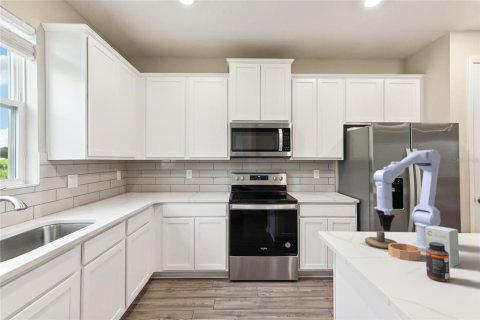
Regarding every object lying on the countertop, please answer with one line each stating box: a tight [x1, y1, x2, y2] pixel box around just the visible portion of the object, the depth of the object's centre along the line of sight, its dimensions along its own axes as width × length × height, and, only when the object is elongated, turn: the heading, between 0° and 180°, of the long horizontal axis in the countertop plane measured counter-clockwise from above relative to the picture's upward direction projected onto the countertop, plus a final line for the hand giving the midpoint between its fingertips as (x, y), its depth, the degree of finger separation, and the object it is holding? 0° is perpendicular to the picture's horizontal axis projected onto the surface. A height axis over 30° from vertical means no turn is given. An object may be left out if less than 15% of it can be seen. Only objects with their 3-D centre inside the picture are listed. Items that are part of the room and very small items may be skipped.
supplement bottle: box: [425, 242, 451, 282], centre depth 81 cm, size 6×6×11 cm
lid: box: [364, 231, 398, 248], centre depth 114 cm, size 13×13×6 cm
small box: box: [425, 225, 460, 268], centre depth 94 cm, size 8×6×13 cm
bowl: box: [387, 242, 422, 262], centre depth 100 cm, size 11×11×4 cm
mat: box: [359, 241, 389, 253], centre depth 114 cm, size 13×13×1 cm
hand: (385, 228), depth 107 cm, fingers open, 7 cm apart
